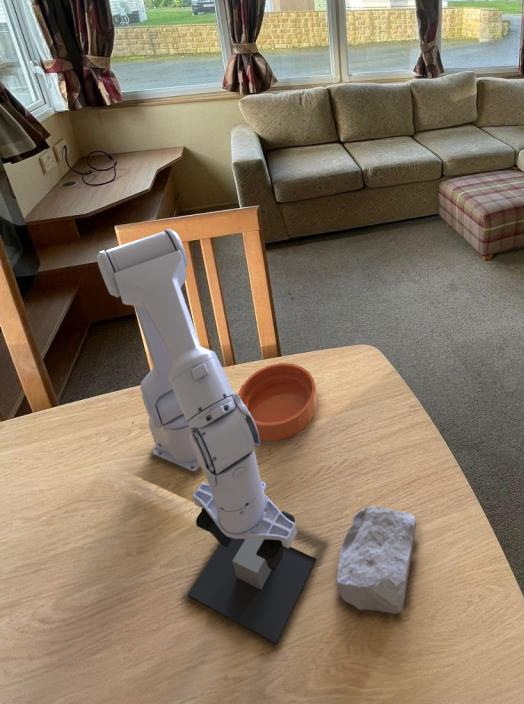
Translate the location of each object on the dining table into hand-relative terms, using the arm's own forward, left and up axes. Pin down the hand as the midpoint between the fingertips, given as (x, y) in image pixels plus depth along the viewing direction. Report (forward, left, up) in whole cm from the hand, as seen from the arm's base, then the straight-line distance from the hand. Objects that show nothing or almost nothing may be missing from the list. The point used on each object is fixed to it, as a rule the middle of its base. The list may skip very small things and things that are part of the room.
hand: (252, 550), depth 65 cm
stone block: (+15, +7, -5) cm, 17 cm away
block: (0, 0, -4) cm, 4 cm away
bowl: (-12, +24, -5) cm, 27 cm away
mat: (0, 0, -5) cm, 5 cm away
